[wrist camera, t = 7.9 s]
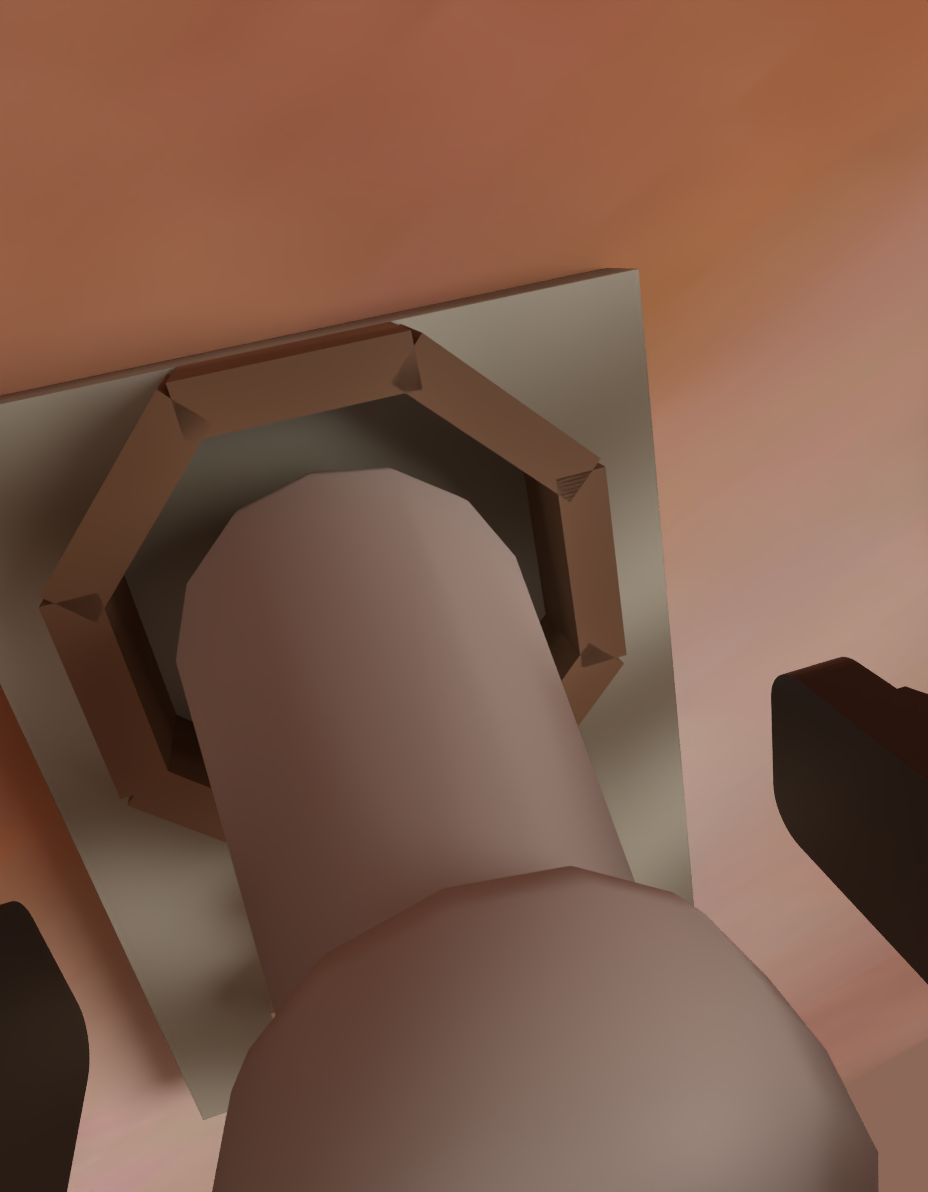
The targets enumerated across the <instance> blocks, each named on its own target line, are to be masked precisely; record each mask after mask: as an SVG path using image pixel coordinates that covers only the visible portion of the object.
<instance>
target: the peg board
mask: <svg viewBox="0 0 928 1192" xmlns="http://www.w3.org/2000/svg"><path fill="white" fill-rule="evenodd" d="M380 467H390V468H392V469H395V470H397V471H399V472H402V473H404V474H407V475H409V476H411V477H414V478H416V479H419V480H421V481H423V482H426V483H428V484H430V485H433V486H435V487H438V488H440V489H442V490H445V491H447V492H450V493H452V494H454V495H457V496H459V497H461V498H463V499H465V500H467V501H469V503H470V504H471V505H472V506H473V507H474V508H475V510H476V511H477V512H478V513H479V514H480V515H481V517H482V518H483V519H484V520H485V521H486V523H487V524H488V525H489V526H490V527H491V528H492V530H493V531H494V532H495V533H496V534H497V535H498V537H499V538H500V539H501V540H502V541H503V543H504V544H505V545H506V546H507V547H508V548H509V550H510V551H511V552H512V553H513V554H514V556H515V557H516V559H517V562H518V565H519V568H520V570H521V573H522V576H523V579H524V581H525V584H526V587H527V589H528V592H529V595H530V598H531V600H532V603H533V606H534V608H535V611H536V614H537V617H538V619H539V622H540V625H541V627H542V630H543V633H544V636H545V638H546V641H547V644H548V647H549V649H550V652H551V655H552V657H553V660H554V663H555V666H556V668H557V671H558V674H559V676H560V679H561V682H562V685H563V687H564V690H565V693H566V695H567V698H568V701H569V704H570V706H571V709H572V712H573V715H574V717H575V720H576V723H577V725H578V728H579V731H580V734H581V736H582V739H583V742H584V744H585V747H586V750H587V753H588V755H589V758H590V761H591V763H592V766H593V769H594V772H595V774H596V777H597V780H598V783H599V785H600V788H601V791H602V793H603V796H604V799H605V802H606V804H607V807H608V810H609V812H610V815H611V818H612V821H613V823H614V826H615V829H616V831H617V834H618V837H619V840H620V842H621V845H622V848H623V851H624V853H625V856H626V859H627V861H628V864H629V867H630V870H631V872H632V875H633V878H634V880H635V883H639V884H643V885H647V886H651V887H654V888H658V889H662V890H666V891H670V892H673V893H675V894H676V895H678V896H679V897H681V898H682V899H684V900H685V901H687V902H688V903H689V904H691V905H692V906H694V901H693V889H692V878H691V866H690V855H689V843H688V832H687V820H686V809H685V798H684V786H683V775H682V763H681V752H680V740H679V729H678V717H677V706H676V694H675V683H674V671H673V660H672V648H671V637H670V625H669V614H668V603H667V591H666V580H665V568H664V557H663V545H662V534H661V522H660V511H659V499H658V488H657V476H656V465H655V453H654V442H653V430H652V419H651V408H650V396H649V385H648V373H647V362H646V350H645V339H644V327H643V316H642V304H641V293H640V281H639V270H638V269H623V268H605V269H600V270H595V271H590V272H586V273H581V274H576V275H571V276H567V277H562V278H557V279H552V280H548V281H543V282H538V283H533V284H529V285H524V286H519V287H514V288H510V289H505V290H500V291H495V292H491V293H486V294H481V295H476V296H472V297H467V298H462V299H457V300H453V301H448V302H443V303H438V304H434V305H429V306H424V307H419V308H415V309H410V310H405V311H400V312H396V313H391V314H386V315H382V316H377V317H372V318H367V319H363V320H358V321H353V322H348V323H344V324H339V325H334V326H329V327H325V328H320V329H315V330H310V331H306V332H301V333H296V334H291V335H287V336H282V337H277V338H272V339H268V340H263V341H258V342H253V343H249V344H244V345H239V346H234V347H230V348H225V349H220V350H215V351H211V352H206V353H201V354H196V355H192V356H187V357H182V358H177V359H173V360H168V361H163V362H158V363H154V364H149V365H144V366H139V367H135V368H130V369H125V370H121V371H116V372H111V373H106V374H102V375H97V376H92V377H87V378H83V379H78V380H73V381H68V382H64V383H59V384H54V385H49V386H45V387H40V388H35V389H30V390H26V391H21V392H16V393H11V394H7V395H2V396H0V685H1V687H2V689H3V691H4V693H5V695H6V698H7V700H8V702H9V704H10V706H11V708H12V711H13V713H14V715H15V717H16V719H17V721H18V723H19V726H20V728H21V730H22V732H23V734H24V736H25V738H26V741H27V743H28V745H29V747H30V749H31V751H32V753H33V756H34V758H35V760H36V762H37V764H38V766H39V768H40V771H41V773H42V775H43V777H44V779H45V781H46V784H47V786H48V788H49V790H50V792H51V794H52V796H53V799H54V801H55V803H56V805H57V807H58V809H59V811H60V814H61V816H62V818H63V820H64V822H65V824H66V826H67V829H68V831H69V833H70V835H71V837H72V839H73V841H74V844H75V846H76V848H77V850H78V852H79V854H80V856H81V859H82V861H83V863H84V865H85V867H86V869H87V872H88V874H89V876H90V878H91V880H92V882H93V884H94V887H95V889H96V891H97V893H98V895H99V897H100V899H101V902H102V904H103V906H104V908H105V910H106V912H107V914H108V917H109V919H110V921H111V923H112V925H113V927H114V929H115V932H116V934H117V936H118V938H119V940H120V942H121V945H122V947H123V949H124V951H125V953H126V955H127V957H128V960H129V962H130V964H131V966H132V968H133V970H134V972H135V975H136V977H137V979H138V981H139V983H140V985H141V987H142V990H143V992H144V994H145V996H146V998H147V1000H148V1002H149V1005H150V1007H151V1009H152V1011H153V1013H154V1015H155V1017H156V1020H157V1022H158V1024H159V1026H160V1028H161V1030H162V1033H163V1035H164V1037H165V1039H166V1041H167V1043H168V1045H169V1048H170V1050H171V1052H172V1054H173V1056H174V1058H175V1060H176V1063H177V1065H178V1067H179V1069H180V1071H181V1073H182V1075H183V1078H184V1080H185V1082H186V1084H187V1086H188V1088H189V1090H190V1093H191V1095H192V1097H193V1099H194V1101H195V1103H196V1106H197V1108H198V1110H199V1112H200V1114H201V1116H202V1118H203V1120H205V1119H208V1118H211V1117H214V1116H217V1115H219V1114H222V1113H225V1112H227V1110H228V1105H229V1100H230V1094H231V1091H232V1088H233V1086H234V1083H235V1081H236V1079H237V1076H238V1074H239V1071H240V1069H241V1067H242V1064H243V1062H244V1059H245V1057H246V1055H247V1052H248V1050H249V1049H250V1047H251V1046H252V1045H253V1044H254V1042H255V1041H256V1040H257V1038H258V1037H259V1036H260V1035H261V1033H262V1032H263V1031H264V1030H265V1028H266V1027H267V1026H268V1025H269V1023H270V1022H271V1021H272V1019H273V1018H274V1017H275V1013H274V1010H273V1006H272V1003H271V999H270V995H269V992H268V988H267V985H266V981H265V978H264V974H263V970H262V967H261V963H260V960H259V956H258V953H257V949H256V945H255V942H254V938H253V935H252V931H251V928H250V924H249V920H248V917H247V913H246V910H245V906H244V903H243V899H242V895H241V892H240V888H239V885H238V881H237V878H236V874H235V870H234V867H233V863H232V860H231V856H230V853H229V849H228V846H227V842H226V838H225V835H224V831H223V828H222V824H221V821H220V817H219V813H218V810H217V806H216V803H215V799H214V796H213V792H212V788H211V785H210V781H209V778H208V774H207V771H206V767H205V763H204V760H203V756H202V753H201V749H200V746H199V742H198V738H197V735H196V731H195V728H194V724H193V721H192V717H191V713H190V710H189V706H188V703H187V699H186V696H185V692H184V688H183V685H182V681H181V678H180V674H179V671H178V667H177V663H176V656H177V649H178V642H179V635H180V627H181V620H182V613H183V606H184V599H185V592H186V585H187V583H188V581H189V580H190V578H191V577H192V575H193V574H194V572H195V571H196V570H197V568H198V567H199V565H200V564H201V562H202V561H203V559H204V558H205V556H206V555H207V553H208V552H209V550H210V549H211V547H212V546H213V544H214V543H215V541H216V540H217V538H218V537H219V536H220V534H221V533H222V531H223V530H224V528H225V527H226V525H227V524H228V522H229V521H230V519H231V518H232V516H233V515H234V514H235V513H236V511H237V510H239V509H241V508H242V507H244V506H246V505H248V504H250V503H252V502H254V501H256V500H258V499H259V498H261V497H263V496H265V495H267V494H269V493H271V492H273V491H275V490H277V489H278V488H280V487H282V486H284V485H286V484H288V483H290V482H292V481H294V480H295V479H297V478H299V477H301V476H303V475H305V474H307V473H309V472H317V471H333V470H348V469H364V468H380Z"/></svg>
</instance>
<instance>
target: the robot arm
mask: <svg viewBox="0 0 928 1192" xmlns="http://www.w3.org/2000/svg"><path fill="white" fill-rule="evenodd" d="M771 708H772V747H773V785H774V794H775V799H776V803H777V807H778V809H779V812H780V815H781V817H782V820H783V822H784V824H785V826H786V828H787V829H788V831H789V833H790V834H791V836H792V837H793V839H794V840H795V841H796V843H797V844H798V845H799V846H800V847H801V848H802V849H803V850H804V851H805V853H806V854H807V855H808V856H809V857H810V858H811V859H812V860H813V861H814V862H815V863H816V864H817V866H818V867H819V868H820V869H821V870H822V871H823V872H824V873H825V874H826V875H827V876H828V877H829V878H830V880H831V881H832V882H833V883H834V884H835V885H836V886H837V887H838V888H839V889H840V890H841V891H842V892H843V894H844V895H845V896H846V897H847V898H848V899H849V900H850V901H851V902H852V903H853V904H854V905H855V906H856V908H857V909H858V910H859V911H860V912H861V913H862V914H863V915H864V916H865V917H866V918H867V919H868V920H869V922H870V923H871V924H872V925H873V926H874V927H875V928H876V929H877V930H878V931H879V932H880V933H881V934H882V936H883V937H884V938H885V939H886V940H887V941H888V942H889V943H890V944H891V945H892V946H893V947H894V948H895V950H896V951H897V952H898V953H899V954H900V955H901V956H902V957H903V958H904V959H905V960H906V961H907V962H908V964H909V965H910V966H911V967H912V968H913V969H914V970H915V971H916V972H917V973H918V974H919V975H920V976H921V978H922V979H923V980H924V981H925V982H926V983H927V984H928V694H926V693H923V692H920V691H917V690H914V689H911V688H908V687H902V688H898V689H896V688H895V687H893V686H892V685H890V684H889V683H888V682H886V681H885V680H883V679H882V678H880V677H879V676H877V675H876V674H874V673H873V672H871V671H870V670H868V669H867V668H865V667H864V666H862V665H861V664H859V663H858V662H856V661H855V660H853V659H850V658H847V657H840V658H836V659H833V660H829V661H826V662H823V663H819V664H816V665H812V666H809V667H806V668H802V669H799V670H796V671H792V672H789V673H786V674H782V675H780V676H778V677H777V678H776V679H775V681H774V683H773V685H772V691H771ZM88 1073H89V1043H88V1035H87V1030H86V1025H85V1021H84V1017H83V1015H82V1012H81V1009H80V1007H79V1005H78V1003H77V1001H76V999H75V997H74V995H73V993H72V992H71V990H70V988H69V986H68V984H67V982H66V980H65V978H64V976H63V974H62V973H61V971H60V969H59V967H58V965H57V963H56V961H55V959H54V957H53V956H52V954H51V952H50V950H49V948H48V946H47V944H46V942H45V940H44V939H43V937H42V935H41V933H40V931H39V929H38V927H37V925H36V923H35V922H34V920H33V918H32V916H31V914H30V913H29V911H28V910H27V909H26V908H25V907H24V906H23V905H22V904H21V903H19V902H16V901H11V902H8V903H5V904H1V905H0V1192H67V1188H68V1183H69V1177H70V1172H71V1167H72V1161H73V1156H74V1150H75V1145H76V1140H77V1134H78V1129H79V1123H80V1118H81V1113H82V1107H83V1102H84V1096H85V1091H86V1085H87V1080H88Z"/></svg>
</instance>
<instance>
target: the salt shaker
mask: <svg viewBox="0 0 928 1192" xmlns="http://www.w3.org/2000/svg"><path fill="white" fill-rule="evenodd" d="M176 663H177V667H178V671H179V674H180V678H181V681H182V685H183V688H184V692H185V696H186V699H187V703H188V706H189V710H190V713H191V717H192V721H193V724H194V728H195V731H196V735H197V738H198V742H199V746H200V749H201V753H202V756H203V760H204V763H205V767H206V771H207V774H208V778H209V781H210V785H211V788H212V792H213V796H214V799H215V803H216V806H217V810H218V813H219V817H220V821H221V824H222V828H223V831H224V835H225V838H226V842H227V846H228V849H229V853H230V856H231V860H232V863H233V867H234V870H235V874H236V878H237V881H238V885H239V888H240V892H241V895H242V899H243V903H244V906H245V910H246V913H247V917H248V920H249V924H250V928H251V931H252V935H253V938H254V942H255V945H256V949H257V953H258V956H259V960H260V963H261V967H262V970H263V974H264V978H265V981H266V985H267V988H268V992H269V995H270V999H271V1003H272V1006H273V1010H274V1013H275V1017H274V1018H273V1019H272V1021H271V1022H270V1023H269V1025H268V1026H267V1027H266V1028H265V1030H264V1031H263V1032H262V1033H261V1035H260V1036H259V1037H258V1038H257V1040H256V1041H255V1042H254V1044H253V1045H252V1046H251V1047H250V1049H249V1050H248V1052H247V1055H246V1057H245V1059H244V1062H243V1064H242V1067H241V1069H240V1071H239V1074H238V1076H237V1079H236V1081H235V1083H234V1086H233V1088H232V1091H231V1094H230V1100H229V1105H228V1110H227V1116H226V1121H225V1126H224V1132H223V1137H222V1142H221V1148H220V1153H219V1158H218V1164H217V1169H216V1174H215V1180H214V1185H213V1190H212V1192H878V1151H877V1149H876V1148H875V1146H874V1143H873V1141H872V1140H871V1138H870V1136H869V1134H868V1132H867V1130H866V1128H865V1126H864V1124H863V1122H862V1120H861V1118H860V1116H859V1114H858V1112H857V1110H856V1108H855V1106H854V1104H853V1102H852V1100H851V1098H850V1096H849V1094H848V1092H847V1090H846V1088H845V1086H844V1084H843V1082H842V1080H841V1078H840V1076H839V1074H838V1072H837V1070H836V1068H835V1066H834V1064H833V1062H832V1060H831V1059H830V1057H829V1055H828V1053H827V1051H826V1049H825V1048H824V1047H823V1046H822V1044H821V1043H820V1042H819V1041H818V1039H817V1038H816V1037H815V1036H814V1034H813V1033H812V1032H811V1031H810V1029H809V1028H808V1027H807V1026H806V1024H805V1023H804V1022H803V1021H802V1019H801V1018H800V1017H799V1016H798V1014H797V1013H796V1012H795V1011H794V1009H793V1008H792V1007H791V1006H790V1004H789V1003H788V1002H787V1001H786V999H785V998H784V997H783V996H782V995H781V993H780V992H779V991H778V990H777V988H776V987H775V986H774V985H773V983H772V982H771V981H770V980H769V978H768V977H767V976H766V975H765V974H764V973H763V972H762V971H761V970H760V969H759V968H758V967H757V966H756V965H755V964H754V963H753V962H752V961H751V960H750V959H749V958H748V957H747V956H746V955H745V954H744V953H743V952H742V951H741V950H740V949H739V948H738V947H737V946H736V945H735V944H734V943H733V942H732V941H731V940H730V939H729V938H728V937H727V936H726V935H725V934H724V933H723V932H722V931H721V930H720V929H719V928H718V927H717V926H716V925H715V924H714V923H713V922H712V921H711V920H710V919H709V918H708V917H707V916H706V915H705V914H704V913H703V912H701V911H700V910H698V909H697V908H695V907H694V906H692V905H691V904H689V903H688V902H687V901H685V900H684V899H682V898H681V897H679V896H678V895H676V894H675V893H673V892H670V891H666V890H662V889H658V888H654V887H651V886H647V885H643V884H639V883H635V880H634V878H633V875H632V872H631V870H630V867H629V864H628V861H627V859H626V856H625V853H624V851H623V848H622V845H621V842H620V840H619V837H618V834H617V831H616V829H615V826H614V823H613V821H612V818H611V815H610V812H609V810H608V807H607V804H606V802H605V799H604V796H603V793H602V791H601V788H600V785H599V783H598V780H597V777H596V774H595V772H594V769H593V766H592V763H591V761H590V758H589V755H588V753H587V750H586V747H585V744H584V742H583V739H582V736H581V734H580V731H579V728H578V725H577V723H576V720H575V717H574V715H573V712H572V709H571V706H570V704H569V701H568V698H567V695H566V693H565V690H564V687H563V685H562V682H561V679H560V676H559V674H558V671H557V668H556V666H555V663H554V660H553V657H552V655H551V652H550V649H549V647H548V644H547V641H546V638H545V636H544V633H543V630H542V627H541V625H540V622H539V619H538V617H537V614H536V611H535V608H534V606H533V603H532V600H531V598H530V595H529V592H528V589H527V587H526V584H525V581H524V579H523V576H522V573H521V570H520V568H519V565H518V562H517V559H516V557H515V556H514V554H513V553H512V552H511V551H510V550H509V548H508V547H507V546H506V545H505V544H504V543H503V541H502V540H501V539H500V538H499V537H498V535H497V534H496V533H495V532H494V531H493V530H492V528H491V527H490V526H489V525H488V524H487V523H486V521H485V520H484V519H483V518H482V517H481V515H480V514H479V513H478V512H477V511H476V510H475V508H474V507H473V506H472V505H471V504H470V503H469V501H467V500H465V499H463V498H461V497H459V496H457V495H454V494H452V493H450V492H447V491H445V490H442V489H440V488H438V487H435V486H433V485H430V484H428V483H426V482H423V481H421V480H419V479H416V478H414V477H411V476H409V475H407V474H404V473H402V472H399V471H397V470H395V469H392V468H390V467H380V468H364V469H348V470H333V471H317V472H309V473H307V474H305V475H303V476H301V477H299V478H297V479H295V480H294V481H292V482H290V483H288V484H286V485H284V486H282V487H280V488H278V489H277V490H275V491H273V492H271V493H269V494H267V495H265V496H263V497H261V498H259V499H258V500H256V501H254V502H252V503H250V504H248V505H246V506H244V507H242V508H241V509H239V510H237V511H236V513H235V514H234V515H233V516H232V518H231V519H230V521H229V522H228V524H227V525H226V527H225V528H224V530H223V531H222V533H221V534H220V536H219V537H218V538H217V540H216V541H215V543H214V544H213V546H212V547H211V549H210V550H209V552H208V553H207V555H206V556H205V558H204V559H203V561H202V562H201V564H200V565H199V567H198V568H197V570H196V571H195V572H194V574H193V575H192V577H191V578H190V580H189V581H188V583H187V585H186V592H185V599H184V606H183V613H182V620H181V627H180V635H179V642H178V649H177V656H176Z"/></svg>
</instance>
